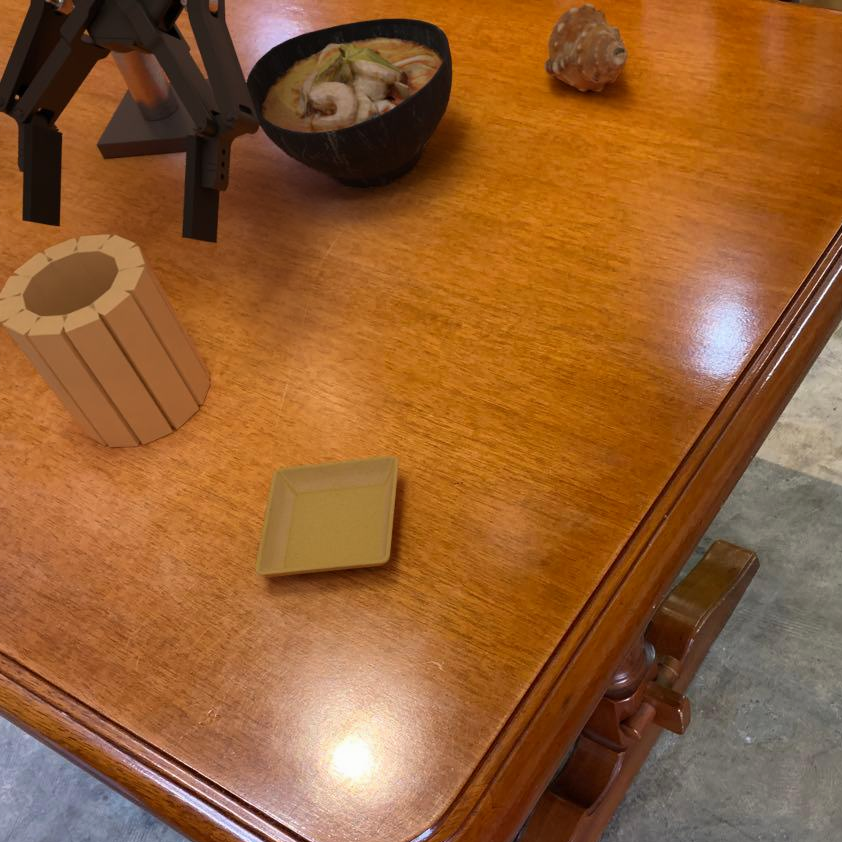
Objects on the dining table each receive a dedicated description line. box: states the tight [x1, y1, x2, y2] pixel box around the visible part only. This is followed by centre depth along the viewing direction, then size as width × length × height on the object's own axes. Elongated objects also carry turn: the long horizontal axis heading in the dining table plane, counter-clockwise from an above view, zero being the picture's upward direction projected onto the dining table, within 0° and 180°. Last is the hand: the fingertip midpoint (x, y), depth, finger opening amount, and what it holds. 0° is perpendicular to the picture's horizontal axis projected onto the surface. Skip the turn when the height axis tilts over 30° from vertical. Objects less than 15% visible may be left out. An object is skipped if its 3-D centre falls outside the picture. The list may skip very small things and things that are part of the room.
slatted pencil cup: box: [0, 233, 211, 448], centre depth 73 cm, size 10×10×11 cm
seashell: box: [543, 3, 628, 92], centre depth 92 cm, size 9×8×10 cm
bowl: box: [246, 17, 453, 190], centre depth 87 cm, size 17×17×10 cm
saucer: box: [254, 455, 400, 577], centre depth 66 cm, size 9×9×2 cm
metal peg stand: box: [96, 50, 213, 159], centre depth 96 cm, size 10×10×12 cm
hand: (118, 232), depth 72 cm, fingers open, 13 cm apart
